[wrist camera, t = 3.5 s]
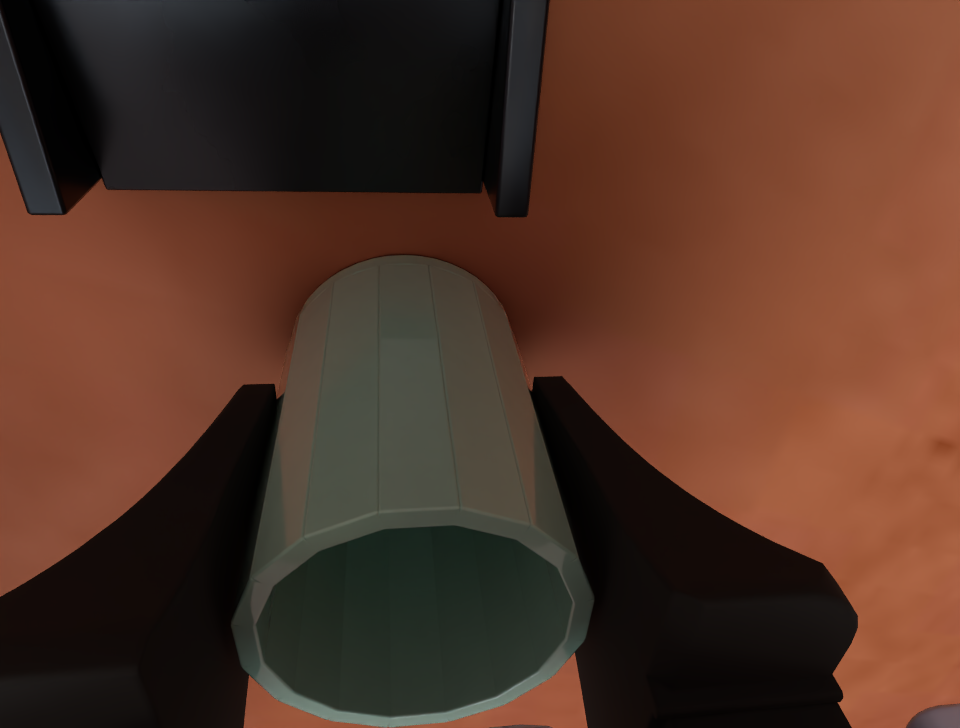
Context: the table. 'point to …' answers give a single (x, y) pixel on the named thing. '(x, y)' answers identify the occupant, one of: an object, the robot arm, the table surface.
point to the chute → (280, 92)
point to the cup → (407, 510)
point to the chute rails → (73, 172)
